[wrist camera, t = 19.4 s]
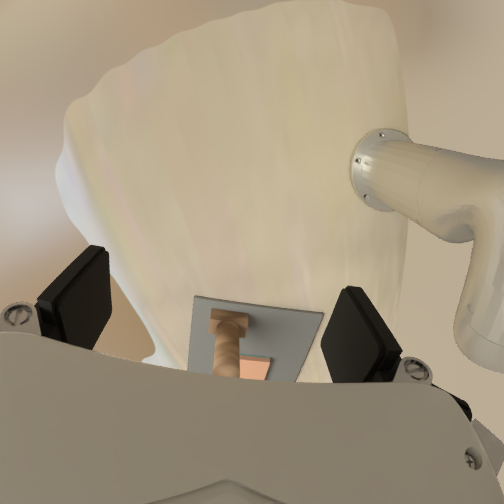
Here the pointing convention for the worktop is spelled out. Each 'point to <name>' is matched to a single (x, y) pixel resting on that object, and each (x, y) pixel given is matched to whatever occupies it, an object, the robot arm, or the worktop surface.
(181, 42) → the worktop surface
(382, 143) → the robot arm
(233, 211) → the worktop surface
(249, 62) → the worktop surface
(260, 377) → the tile
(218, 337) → the wooden rubber stamp
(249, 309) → the mat
